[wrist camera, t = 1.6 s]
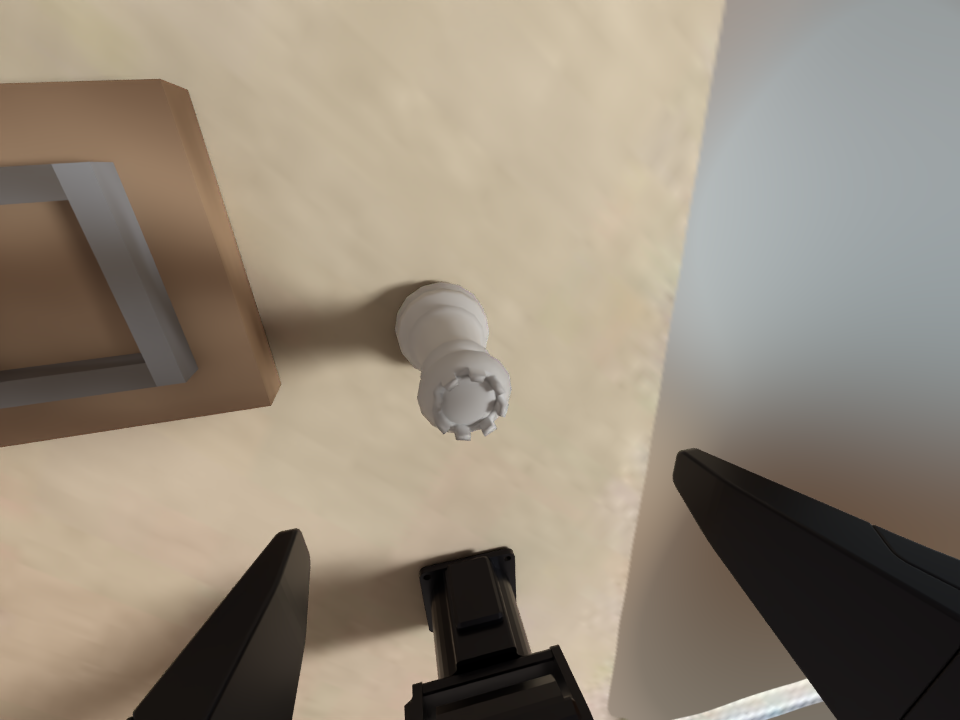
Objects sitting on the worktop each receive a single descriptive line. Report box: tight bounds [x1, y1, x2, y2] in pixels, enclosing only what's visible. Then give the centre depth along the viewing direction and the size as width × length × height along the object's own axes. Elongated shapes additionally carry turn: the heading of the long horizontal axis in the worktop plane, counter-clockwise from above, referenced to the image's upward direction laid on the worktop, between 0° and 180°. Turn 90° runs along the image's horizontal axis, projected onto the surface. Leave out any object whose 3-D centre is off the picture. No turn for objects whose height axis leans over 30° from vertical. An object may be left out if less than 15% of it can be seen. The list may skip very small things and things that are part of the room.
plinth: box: [0, 79, 281, 447], centre depth 15 cm, size 12×12×3 cm
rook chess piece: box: [395, 282, 512, 441], centre depth 17 cm, size 4×4×8 cm
